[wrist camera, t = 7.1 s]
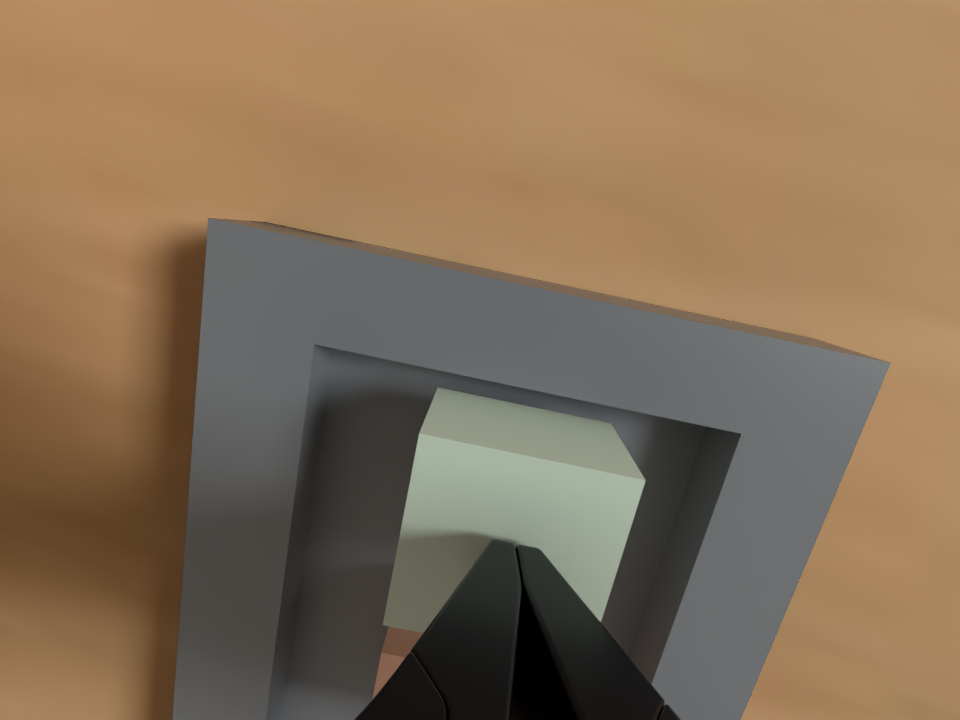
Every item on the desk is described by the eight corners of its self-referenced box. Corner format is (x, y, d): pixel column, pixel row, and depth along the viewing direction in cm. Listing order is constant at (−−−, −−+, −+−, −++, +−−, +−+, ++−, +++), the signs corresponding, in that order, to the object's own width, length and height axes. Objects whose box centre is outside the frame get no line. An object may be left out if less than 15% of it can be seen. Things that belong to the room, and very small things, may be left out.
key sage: (567, 573, 12) (586, 666, 9) (407, 541, 12) (382, 625, 9) (611, 423, 11) (646, 480, 8) (437, 387, 11) (419, 433, 8)
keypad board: (569, 986, 19) (580, 1099, 16) (196, 915, 18) (150, 1018, 16) (814, 338, 13) (890, 362, 10) (265, 221, 12) (208, 217, 10)
